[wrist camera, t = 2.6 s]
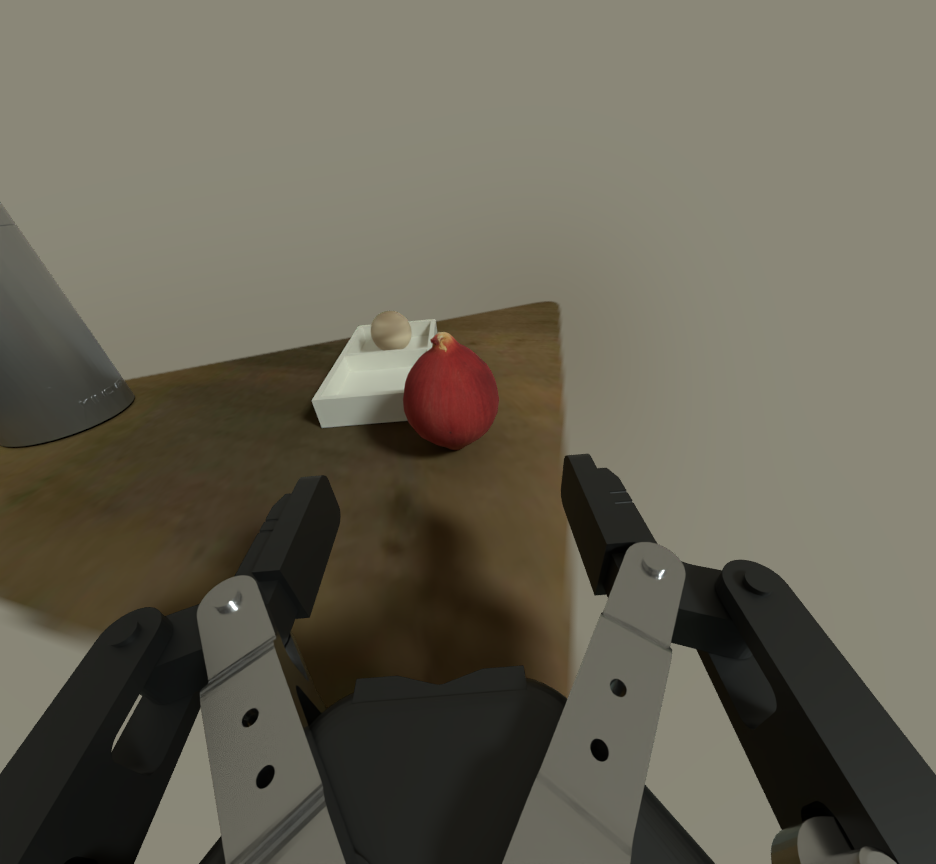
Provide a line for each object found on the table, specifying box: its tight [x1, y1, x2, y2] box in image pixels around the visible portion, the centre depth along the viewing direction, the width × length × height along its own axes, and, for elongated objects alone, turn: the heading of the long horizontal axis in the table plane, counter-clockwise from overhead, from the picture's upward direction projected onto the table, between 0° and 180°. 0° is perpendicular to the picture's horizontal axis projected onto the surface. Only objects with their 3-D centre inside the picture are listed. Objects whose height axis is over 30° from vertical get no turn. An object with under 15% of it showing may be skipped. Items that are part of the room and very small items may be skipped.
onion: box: [403, 332, 499, 450], centre depth 22 cm, size 6×6×8 cm
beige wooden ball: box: [371, 311, 412, 351], centre depth 36 cm, size 4×4×4 cm
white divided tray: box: [312, 319, 437, 428], centre depth 33 cm, size 8×16×2 cm, turn 3°
